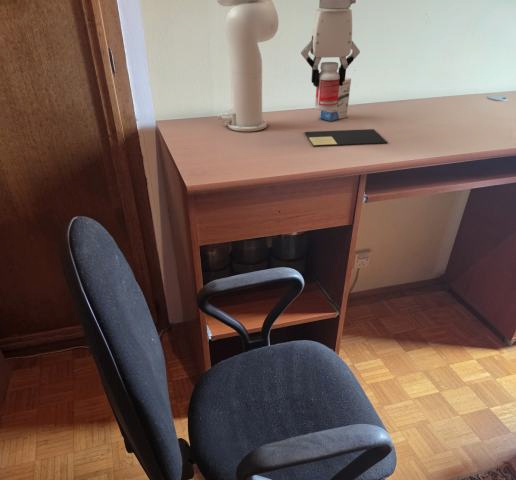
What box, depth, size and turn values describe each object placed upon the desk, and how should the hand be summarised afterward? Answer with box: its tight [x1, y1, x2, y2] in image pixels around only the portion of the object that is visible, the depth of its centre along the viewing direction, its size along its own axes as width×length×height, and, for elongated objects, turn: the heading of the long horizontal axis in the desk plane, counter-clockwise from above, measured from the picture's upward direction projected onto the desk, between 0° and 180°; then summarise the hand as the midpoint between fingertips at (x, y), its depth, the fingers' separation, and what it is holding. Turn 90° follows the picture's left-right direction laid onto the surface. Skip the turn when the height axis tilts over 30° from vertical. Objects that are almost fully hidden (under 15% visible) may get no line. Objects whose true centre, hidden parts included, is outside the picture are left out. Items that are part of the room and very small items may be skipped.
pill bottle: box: [314, 61, 340, 112], centre depth 123 cm, size 6×6×11 cm
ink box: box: [320, 76, 352, 122], centre depth 148 cm, size 8×5×12 cm, turn 131°
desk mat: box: [304, 128, 388, 147], centre depth 135 cm, size 22×13×1 cm, turn 97°
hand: (327, 84), depth 123 cm, fingers closed on pill bottle, 6 cm apart
